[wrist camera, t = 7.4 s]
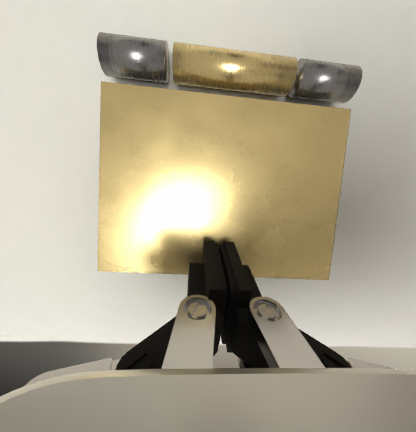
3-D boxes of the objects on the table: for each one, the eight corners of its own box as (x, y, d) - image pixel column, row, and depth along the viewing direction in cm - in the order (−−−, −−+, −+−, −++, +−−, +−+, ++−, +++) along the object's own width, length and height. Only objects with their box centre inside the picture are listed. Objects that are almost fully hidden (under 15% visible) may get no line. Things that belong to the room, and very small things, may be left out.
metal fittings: (343, 73, 12) (370, 61, 11) (295, 248, 17) (308, 263, 15) (108, 43, 11) (90, 23, 9) (122, 239, 16) (112, 254, 14)
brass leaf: (339, 77, 12) (364, 58, 11) (315, 271, 14) (334, 283, 12) (112, 49, 11) (97, 22, 10) (107, 263, 13) (93, 274, 11)
